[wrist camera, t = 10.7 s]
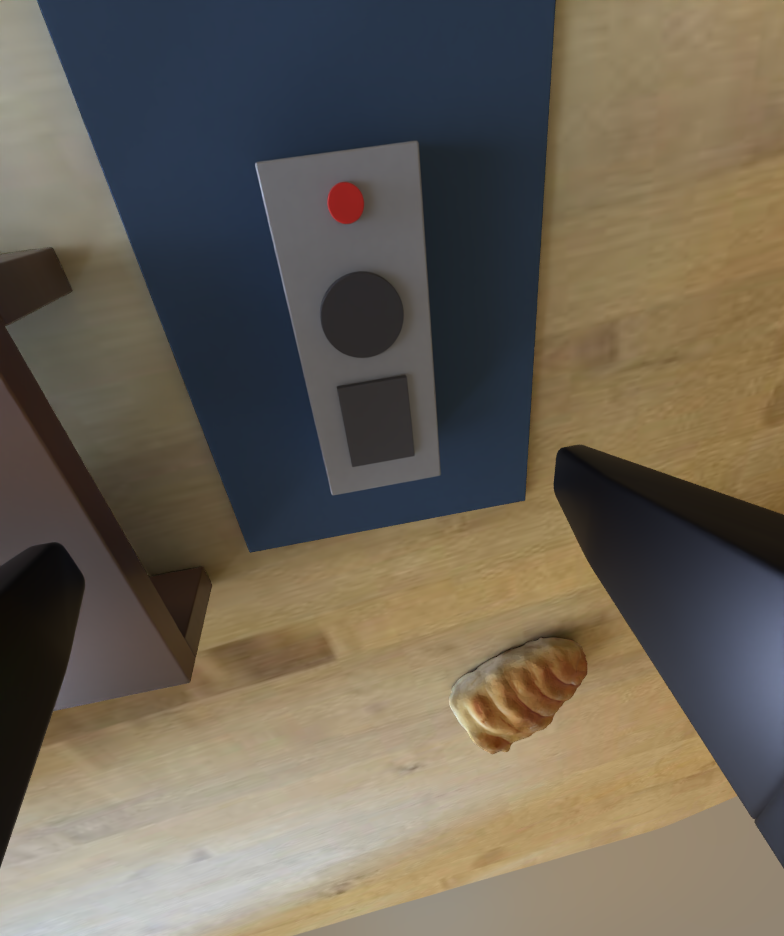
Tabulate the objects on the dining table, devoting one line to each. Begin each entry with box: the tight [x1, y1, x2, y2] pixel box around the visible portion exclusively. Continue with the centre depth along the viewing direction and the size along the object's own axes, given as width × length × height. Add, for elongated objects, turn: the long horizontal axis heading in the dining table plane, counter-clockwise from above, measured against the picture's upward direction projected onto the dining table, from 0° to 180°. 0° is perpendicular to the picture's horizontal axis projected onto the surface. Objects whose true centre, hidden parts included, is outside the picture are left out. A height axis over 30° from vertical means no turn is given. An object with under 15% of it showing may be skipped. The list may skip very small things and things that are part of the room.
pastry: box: [449, 637, 587, 754], centre depth 31 cm, size 9×7×4 cm
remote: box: [255, 141, 441, 495], centre depth 16 cm, size 11×4×3 cm, turn 7°
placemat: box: [37, 0, 556, 552], centre depth 18 cm, size 20×14×1 cm
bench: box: [0, 247, 212, 711], centre depth 17 cm, size 16×9×6 cm, turn 6°
